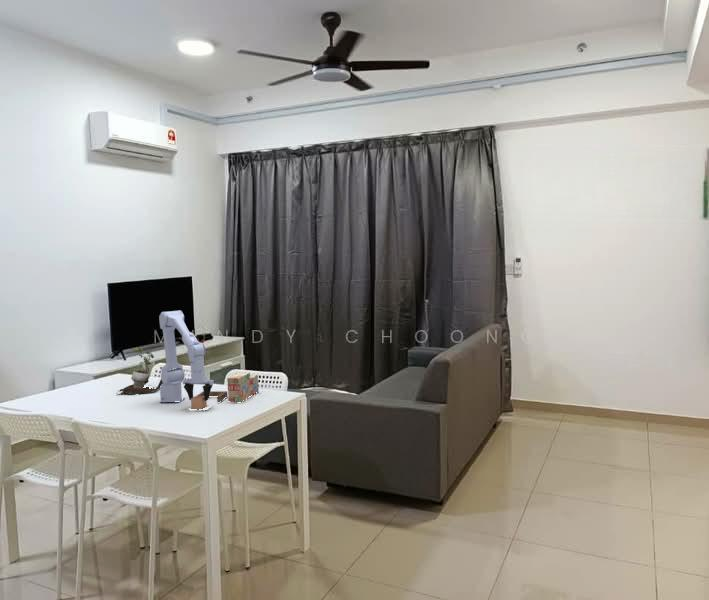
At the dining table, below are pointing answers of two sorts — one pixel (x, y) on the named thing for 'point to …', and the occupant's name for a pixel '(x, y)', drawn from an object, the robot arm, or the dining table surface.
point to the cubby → (216, 394)
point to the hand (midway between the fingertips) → (198, 399)
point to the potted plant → (140, 377)
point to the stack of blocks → (241, 386)
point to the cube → (198, 402)
